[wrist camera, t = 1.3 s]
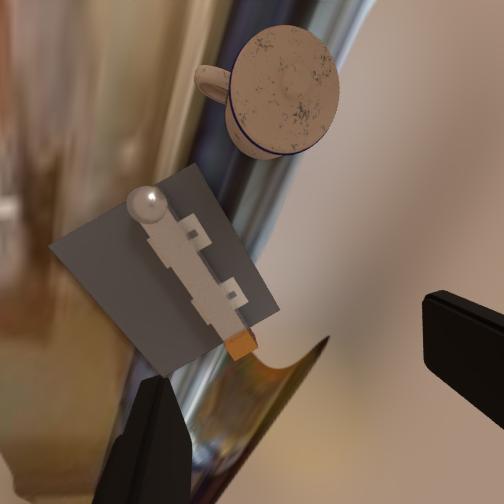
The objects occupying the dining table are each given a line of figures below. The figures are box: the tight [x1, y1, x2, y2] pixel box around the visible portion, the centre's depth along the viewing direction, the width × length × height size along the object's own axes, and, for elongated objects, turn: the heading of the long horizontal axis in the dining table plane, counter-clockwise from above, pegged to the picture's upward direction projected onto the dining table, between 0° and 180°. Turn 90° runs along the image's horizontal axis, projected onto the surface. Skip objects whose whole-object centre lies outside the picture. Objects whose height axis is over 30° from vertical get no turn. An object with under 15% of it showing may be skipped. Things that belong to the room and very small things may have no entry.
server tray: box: [48, 163, 280, 377], centre depth 30 cm, size 18×21×2 cm
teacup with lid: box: [194, 25, 339, 160], centre depth 22 cm, size 12×9×12 cm
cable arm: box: [127, 186, 258, 361], centre depth 28 cm, size 22×4×3 cm, turn 28°
